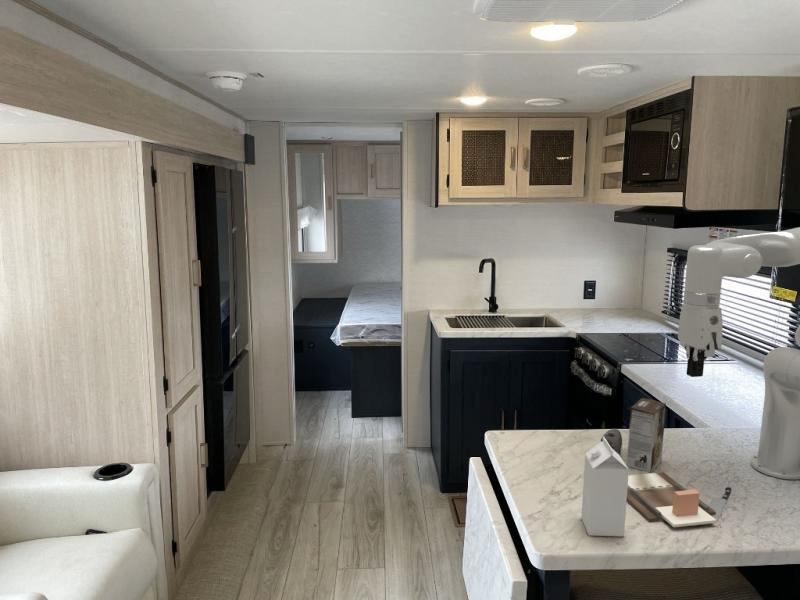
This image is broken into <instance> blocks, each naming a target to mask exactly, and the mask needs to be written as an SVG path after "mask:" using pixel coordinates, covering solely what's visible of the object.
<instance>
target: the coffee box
mask: <svg viewBox="0 0 800 600" xmlns="http://www.w3.org/2000/svg"><path fill="white" fill-rule="evenodd" d="M666 404H667V403H665V402H661V401H657V400H654V399H650V398H645V397H640V399H639V400H638V401H636V403H634V404H633V405H632V406H631V407H630V415H629V416H630V417H629V431H628V432H629V433H628V444H627V445H628V446H627V458H626V466H627V467H628V468H629V467H630V468H633V469H637V470H639V471H643V472H646V473H649V474H650V473H652V472H653V471H654V469H656V467H657V466H658V465H659V464H660V463H661V462H662V459H663V457H662V456H663V448H664V436H665V435H664V433H665V419H666V409H667V407H666V406H667V405H666Z"/></svg>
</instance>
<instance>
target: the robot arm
mask: <svg viewBox="0 0 800 600" xmlns="http://www.w3.org/2000/svg"><path fill="white" fill-rule="evenodd" d="M686 256H687V259H686V267H685V268H686V269H685V278H684V280H685V281H684V291H683V292H684V293H683V303H682V307H681V309H680V310H681V311H680V315H679V320H678V321H679V322H678V329H677V339H678V341H679V342H680V343H679V344H680V346H681V347H682V348H684V350H685V353H686V354H685V356H686V358H687V364H686V375H687V376H689V377H691V378H697V377H703V375H704V368H705V362H706V361H707V359H708V358H711V357H715V355H716V352H715V351H716V350H717V351H718V350H721V348H722V345H723V313H722V308H721V307H720V304H721V295H722V294H721V293H722V281H723V278H724V277H727V278H734V279H735V278H736V279H745V278H750V277H753V276H754V275H755V274H758V272H759V270H760V269H761V268H762V267H770V268H783V267H784V268H786V267H791V266H796V265H800V226H799V227H793V228H791V229H785V230H781V231H771V232H763V233H758V234H757V233H756V234H755V233H754V234H746V235H738V236H730V237H726V238H722V239H717V240H713V241H710V242H708V243H706V244H704V245H703V244H699V245H698V244H697V245H693V246H690V247H689V249H688V251H687V255H686ZM794 340H795V343H796V344H797V345H798V346H799V347H800V325H799V326H797V329H796V330H795V333H794ZM762 367H763V368H762V369H763V378H764V388H765V389H764V399H763V400H764V401H763V410H762V417H761V426H760V433H759V441H758V442H759V444H758V450H757V454H754V455H752V456H751V457H750V459H749V464H750V466H751V467H752V468H754V470H756V471H758V472H760V473H762V474H763V475H764V474H765V475H767V476H770V477H773V478H778V479H784V480H793V481H794V480H800V349H798V348H794V347H789V346H788V347H787V346H779V347H775V348H773V349H772V350H770V351H769V352H768V353H767V355H766V356H765V358H764V361H763V365H762Z"/></svg>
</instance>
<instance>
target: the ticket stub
mask: <svg viewBox="0 0 800 600" xmlns="http://www.w3.org/2000/svg"><path fill="white" fill-rule="evenodd" d="M700 494H701V492H699V491H698V490H697V489H686V490H685V491H675V492H674V498H673V506H665V507H656V509H657V510H659V511H660V512H661V517H662V518H664V519H665V520H666V521H665V522H667V523H668V524H669V525H670V526H672V527H673V528H681V527H690V526H699V525H709V524H717V522H716V519H714V518H713V517H712V516H711V515H709V514H708V513H707V512H705V511H704V510H703V509H702V508H700V507H699V499H700Z"/></svg>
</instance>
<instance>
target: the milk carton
mask: <svg viewBox="0 0 800 600" xmlns="http://www.w3.org/2000/svg"><path fill="white" fill-rule="evenodd" d="M602 436H603V435H602ZM583 466H584V471H583V485H582V488H583V489H582V502H581V517H580V518H581V520H582V523H583V524H584V525H583V526H584V527H585V530H586V531H587V534H588V535H589V536H594V537H595V536H600V537H624V536H625V527H626V526H625V524H626V515H627V513H626V512H627V511H626V509H627V488H628V475H629V474H630V473H629V471H630V469H629V466H627V463H625V461H624V460H623V459H622V457H621V455H620V454H618V453H617V452H615V451H614V450H613V449H612V448H611V447H610V445H609V444H608V442H607V441H606V439H605V438H604V436H603V441H602V442H601V441H600V442H599V443H598V444H596V445H595V446H593V447H592V448H591V449H590V450H588V451H586V453H585V455H584V465H583Z"/></svg>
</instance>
